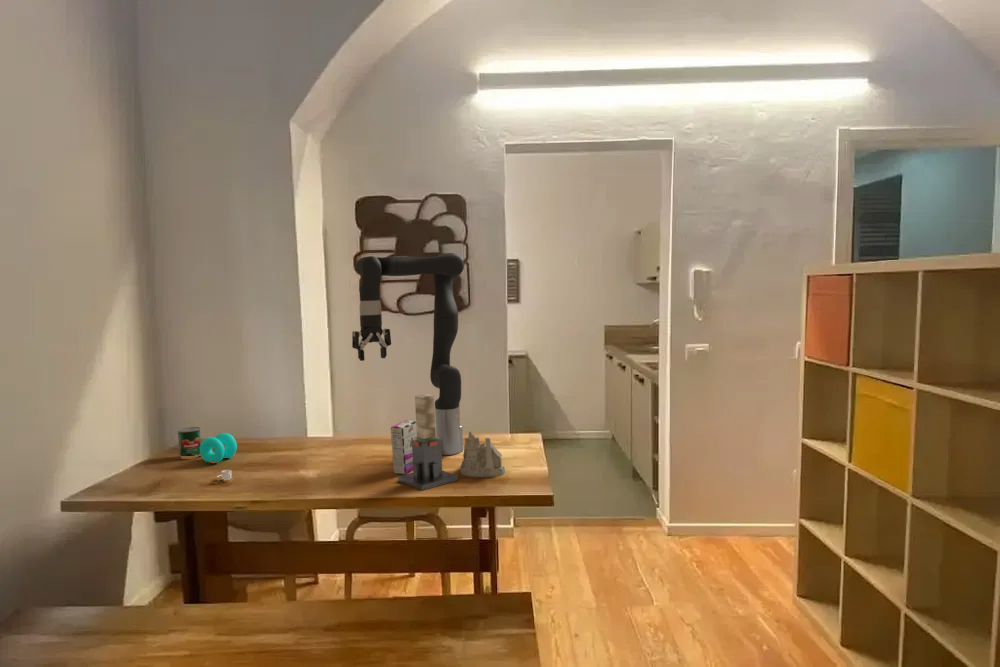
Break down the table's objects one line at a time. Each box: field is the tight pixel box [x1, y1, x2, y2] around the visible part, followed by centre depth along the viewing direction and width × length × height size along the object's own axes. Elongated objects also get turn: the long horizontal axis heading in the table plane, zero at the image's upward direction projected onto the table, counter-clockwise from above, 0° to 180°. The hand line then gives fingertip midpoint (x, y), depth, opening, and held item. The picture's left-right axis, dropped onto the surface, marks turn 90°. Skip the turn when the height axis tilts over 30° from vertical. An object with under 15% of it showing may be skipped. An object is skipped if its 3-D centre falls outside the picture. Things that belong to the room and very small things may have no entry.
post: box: [414, 393, 436, 443], centre depth 213 cm, size 5×5×20 cm
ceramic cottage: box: [459, 430, 506, 478], centre depth 224 cm, size 16×16×15 cm
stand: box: [397, 439, 459, 491], centre depth 213 cm, size 14×14×14 cm
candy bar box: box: [390, 419, 417, 475], centre depth 227 cm, size 11×5×16 cm, turn 160°
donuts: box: [200, 432, 238, 463], centre depth 247 cm, size 10×10×10 cm
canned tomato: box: [177, 426, 202, 456], centre depth 254 cm, size 8×8×11 cm
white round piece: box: [216, 469, 233, 480], centre depth 221 cm, size 9×8×4 cm
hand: (372, 359), depth 231 cm, fingers open, 8 cm apart
